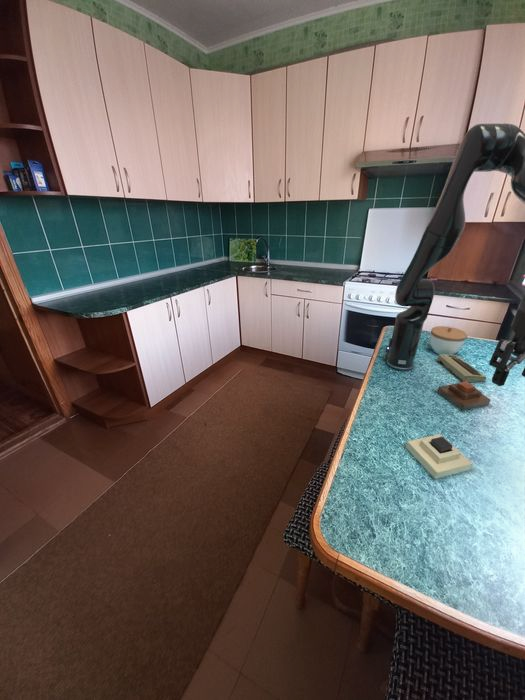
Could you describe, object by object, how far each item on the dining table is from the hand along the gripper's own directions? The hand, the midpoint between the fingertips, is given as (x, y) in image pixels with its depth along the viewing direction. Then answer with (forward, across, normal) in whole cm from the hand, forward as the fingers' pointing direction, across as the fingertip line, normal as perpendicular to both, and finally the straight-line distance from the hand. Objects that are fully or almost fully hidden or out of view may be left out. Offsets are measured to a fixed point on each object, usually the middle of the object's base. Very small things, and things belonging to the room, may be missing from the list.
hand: (512, 380), depth 63 cm
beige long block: (+22, -28, -33) cm, 49 cm away
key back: (+18, -15, -19) cm, 31 cm away
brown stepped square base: (+22, -15, -20) cm, 33 cm away
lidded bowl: (+22, -35, -47) cm, 62 cm away
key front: (+18, +11, -2) cm, 22 cm away
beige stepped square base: (+22, +11, -2) cm, 25 cm away
